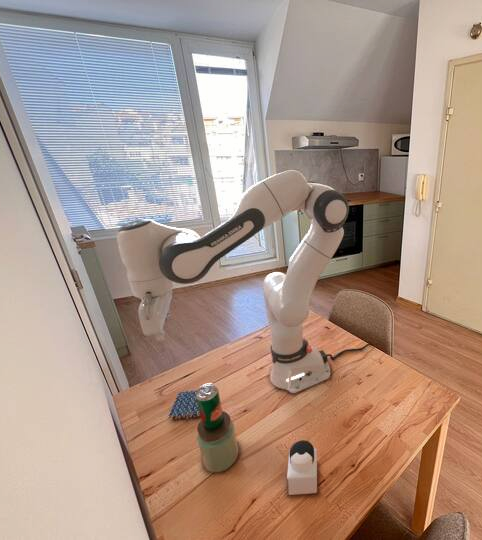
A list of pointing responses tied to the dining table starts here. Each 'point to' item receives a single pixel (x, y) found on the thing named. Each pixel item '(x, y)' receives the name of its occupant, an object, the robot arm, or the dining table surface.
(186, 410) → the woven mat
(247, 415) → the dining table surface
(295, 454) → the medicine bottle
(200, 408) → the soda can
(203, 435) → the jar
